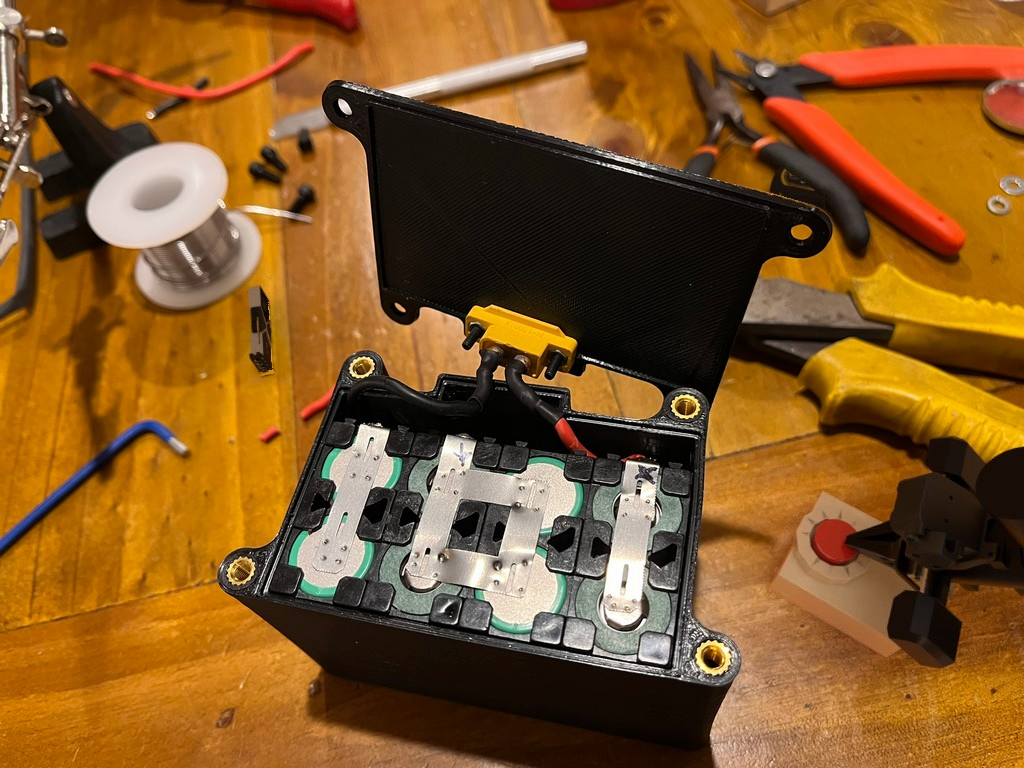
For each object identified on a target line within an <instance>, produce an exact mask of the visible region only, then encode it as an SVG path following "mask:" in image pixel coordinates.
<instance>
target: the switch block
mask: <svg viewBox="0 0 1024 768" xmlns="http://www.w3.org/2000/svg"><path fill="white" fill-rule="evenodd" d="M829 519H839V520H842V521H845V522H847V523H849V524H850V525H851V526H852V527H853V528H854V529H855V530H856V531H857V532H858V531H861V530H864V529H867V528H870V527H872V526H875V525H879V524H881V523H883V521H881V520H879V519H877V518H875V517H873V516H871V515H870V514H868V513H866V512H863V511H862V510H861V509H858V508H857V507H854V506H852V505H851V504H848V503H846V501H845V502H844V501H843V500H841V499H839V498H837V497H836V496H833V495H832V494H829V493H827V492H826V491H821V492H820V494H819V496H818V497H817V499H816V500H815V502H814V504H813V505H812V506H811V508H810V509H809V511H808V513H807V514H805V515H803V517H802V519H801V520H800V522H799V524H798V526H797V527H796V529H795V531H794V533H793V535H792V544H791V545H790V547H789V549H788V550H787V552H786V555H785V557H784V558H783V560H782V562H781V564H780V566H779V568H778V570H777V571H776V573H775V575H774V576H773V579H772V580H771V582H770V584H769V586H768V590H770V591H771V592H773V593H774V594H777V595H778V596H780V597H781V598H783V599H785V600H787V601H788V602H790V603H792V604H794V606H797V607H799V608H800V609H802V610H804V611H805V612H807V613H809V614H811V615H813V616H814V617H816V618H818V619H819V620H821V621H822V622H824V623H826V624H828V625H829V626H831V627H833V628H834V629H836V630H837V631H839V632H841V633H843V634H845V635H847V636H848V637H850V638H852V639H853V640H855V641H857V642H858V643H860V644H862V645H864V646H865V647H867V648H869V649H870V650H872V651H874V652H876V653H877V654H879V655H880V656H882V657H884V658H888V657H890V656H891V655H893V654H894V653H896V652H898V651H900V650H902V649H901V648H900V647H899V646H898V645H896V644H895V643H894V642H893V641H892V640H891V639H889V637H888V632H887V624H888V620H889V616H890V611H891V607H892V603H893V598H894V597H896V596H897V595H899V594H900V593H901V592H903V591H904V590H912V591H915V590H914V589H913V588H912V587H911V586H910V585H909V584H908V583H906V582H905V581H904V580H903V579H902V578H901V577H900V576H899V575H898V574H897V573H896V572H895V570H894V569H892V568H890V567H888V566H886V565H884V564H881V563H879V562H877V561H875V560H873V559H871V558H869V557H867V556H865V555H862V554H860V553H857V554H856V555H855V556H854V557H853V559H852V560H851V561H849V562H848V563H846V564H844V565H840V566H834V565H829V564H827V563H825V562H824V561H822V560H820V559H819V558H818V557H817V555H816V554H815V552H814V551H813V549H812V546H811V538H812V535H813V533H814V531H815V530H816V529H817V527H818V526H819V525H820V524H821V523H822V522H824V521H826V520H829Z"/></svg>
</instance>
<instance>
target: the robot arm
mask: <svg viewBox="0 0 1024 768" xmlns="http://www.w3.org/2000/svg"><path fill="white" fill-rule="evenodd" d="M923 463H924V465H925V466H926V467H927V468H928V470H930V472H928V473H927V472H926V473H923V474H920V475H917V476H912V477H909V478H908V477H907V478H904V479H902V480H900V481H899V482H898V483H897V486H896V492H897V494H896V498H895V502H894V506H893V509H892V511H891V512H890V515H889V519H888V520H886V521H884V522H883V521H882V522H883V523H881V524H879V525H875V526H872V527H870V528H867V529H864V530H861V531H858V532H856V533H853V534H850V535H847V536H846V540H845V545H846V546H847V547H849V548H850V549H852V550H854V551H856V552H858V553H860V554H862V555H865V556H867V557H869V558H871V559H873V560H875V561H877V562H879V563H881V564H884V565H886V566H888V567H890V568H892V569H894V570H895V572H896V573H897V574H898V575H899V576H900V577H901V578H902V579H903V580H904V581H905V582H906V583H908V584H909V585H910V586H911V587H912V588H913V589H914V590H915V591H912V590H904V591H903V592H901V593H900V594H899V595H897V596H896V597H894V598H893V603H892V607H891V611H890V616H889V620H888V624H887V632H888V637H889V639H891V640H892V641H893V642H894V643H895V644H896V645H898V646H899V647H900V648H901V649H900V650H902V651H903V652H905V654H907V655H908V656H909V657H910V658H912V660H914V661H915V662H916V663H917V664H919V666H923V667H929V668H934V669H940V670H941V669H944V668H946V667H948V666H950V665H953V664H955V663H956V658H957V653H958V648H959V643H960V637H961V631H962V627H963V621H961V620H960V619H959V618H958V617H957V616H956V615H955V614H954V613H953V612H952V611H951V610H950V609H949V608H948V607H947V602H948V600H952V599H953V597H954V590H955V585H956V584H958V585H959V586H960V587H961V588H962V589H963V590H964V591H968V592H978V593H979V590H980V586H982V587H994V588H1006V589H1013V590H1014V591H1015V592H1016V593H1017V594H1018V595H1019V596H1021V597H1024V445H1023V446H1018V447H1017V446H1016V447H1013V448H1010V449H1008V450H1007V449H1006V450H1004V451H1002V452H1000V453H999V454H997V455H994V456H993V457H992V458H991V459H990V460H988V461H987V462H986V461H984V460H983V458H982V457H981V456H980V455H979V454H978V453H977V451H976V450H975V449H974V448H973V447H972V446H971V444H969V443H968V441H966V440H965V439H964V438H961V437H958V436H956V435H955V436H954V435H946V436H945V435H943V436H933V437H931V438H930V439H929V443H928V445H927V451H926V455H925V458H924V462H923Z"/></svg>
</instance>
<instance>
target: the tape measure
mask: <svg viewBox="0 0 1024 768" xmlns="http://www.w3.org/2000/svg"><path fill="white" fill-rule="evenodd" d="M770 192H771V193H774V194H777V195H781V196H784V197H787V198H791V199H794V200H798V201H801V202H805V203H808V204H812V205H815V206H817V207H820V208H821V209H823V208H825V209H823V210H824V211H825V210H826V204H825V202H826V201H827V198H826V199H825V197H823V196H822V195H820V194H819V193H817V192H816V191H815V190H814V189H812V188H811V187H810V186H808V185H807V184H805V182H803V181H801V180H799V179H798V178H797V177H796V176H794V175H792V174H791V173H790V172H789V171H787V170H786V169H785V168H783V167H782V166H781V167H779V168H778V169H777V170H776V171H775V173H774V175H773V177H772V179H771V182H770V187H769V193H770Z"/></svg>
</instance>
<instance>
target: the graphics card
mask: <svg viewBox="0 0 1024 768" xmlns="http://www.w3.org/2000/svg"><path fill="white" fill-rule="evenodd" d="M268 302H270V299H269V297H268V295H267V294H266V292H265V291H264V289H263V287H262V285H260V284H259V285H254V286H250V287H248V307H249V310H250V324H251V325H250V328H251V329H250V330H251V334H250V353H248V356H249V360H250V361H251V362H252V364H253V366H254V367H255V368H256V370H257V371H258V372H259V373H260V372H262V371H264V370H266V371H268V370H272V369H273V368H272V362H271V333H272V327H271V328H270V323H271V321H270V320H269V310H268V306H269V305H268V304H269V303H268ZM273 370H274V371H275V369H273ZM266 371H264V372H266Z"/></svg>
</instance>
